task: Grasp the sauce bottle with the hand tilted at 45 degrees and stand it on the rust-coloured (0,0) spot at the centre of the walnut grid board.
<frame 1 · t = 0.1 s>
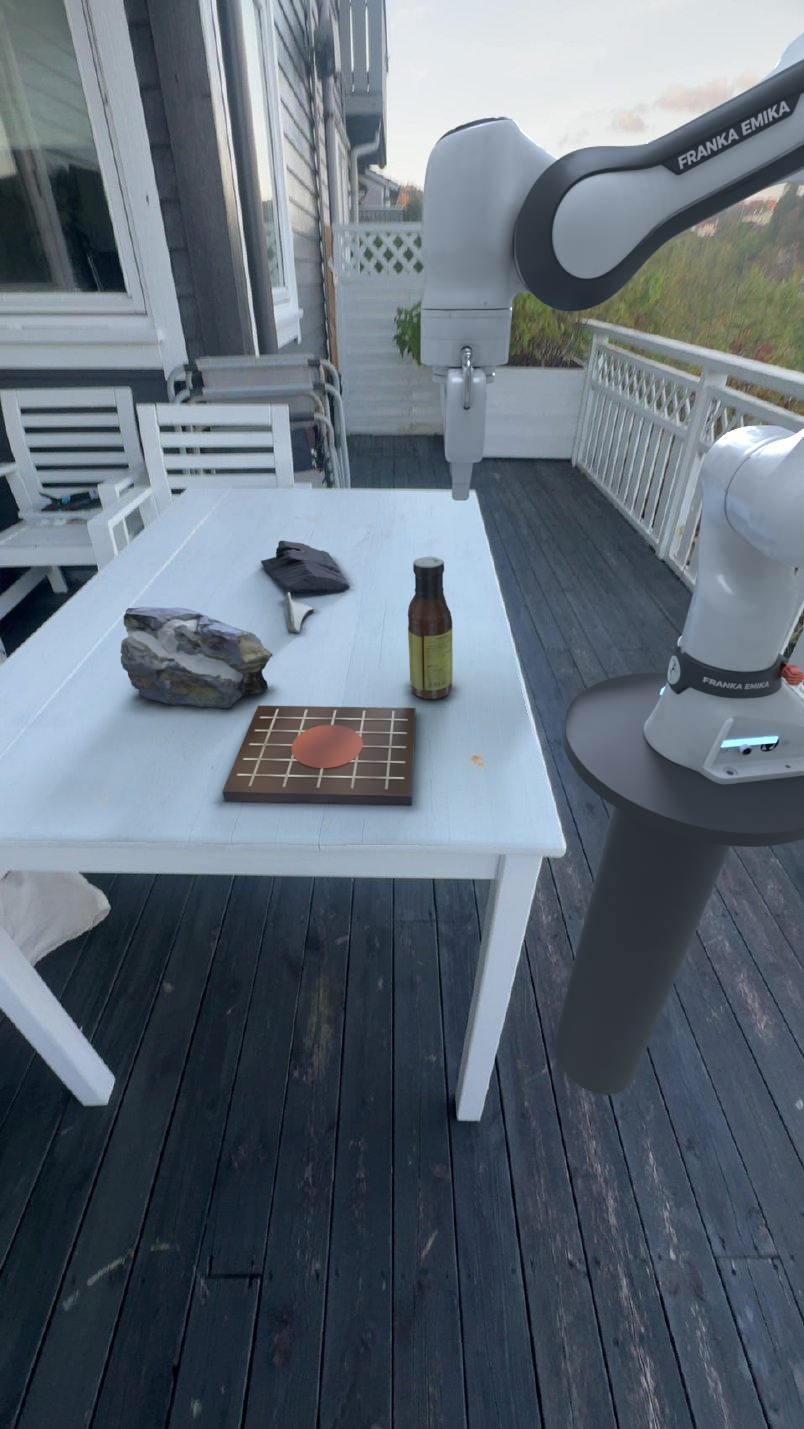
hand: (458, 486, 70), 31 cm above the table, tool pointing down, fingers open, 8 cm apart
fossil rock: (205, 698, 92), on the table
sauce bottle: (429, 691, 93), on the table
dark slate chunk: (305, 577, 129), on the table
grid board: (328, 755, 80), on the table
ceramic fragment: (292, 618, 114), on the table
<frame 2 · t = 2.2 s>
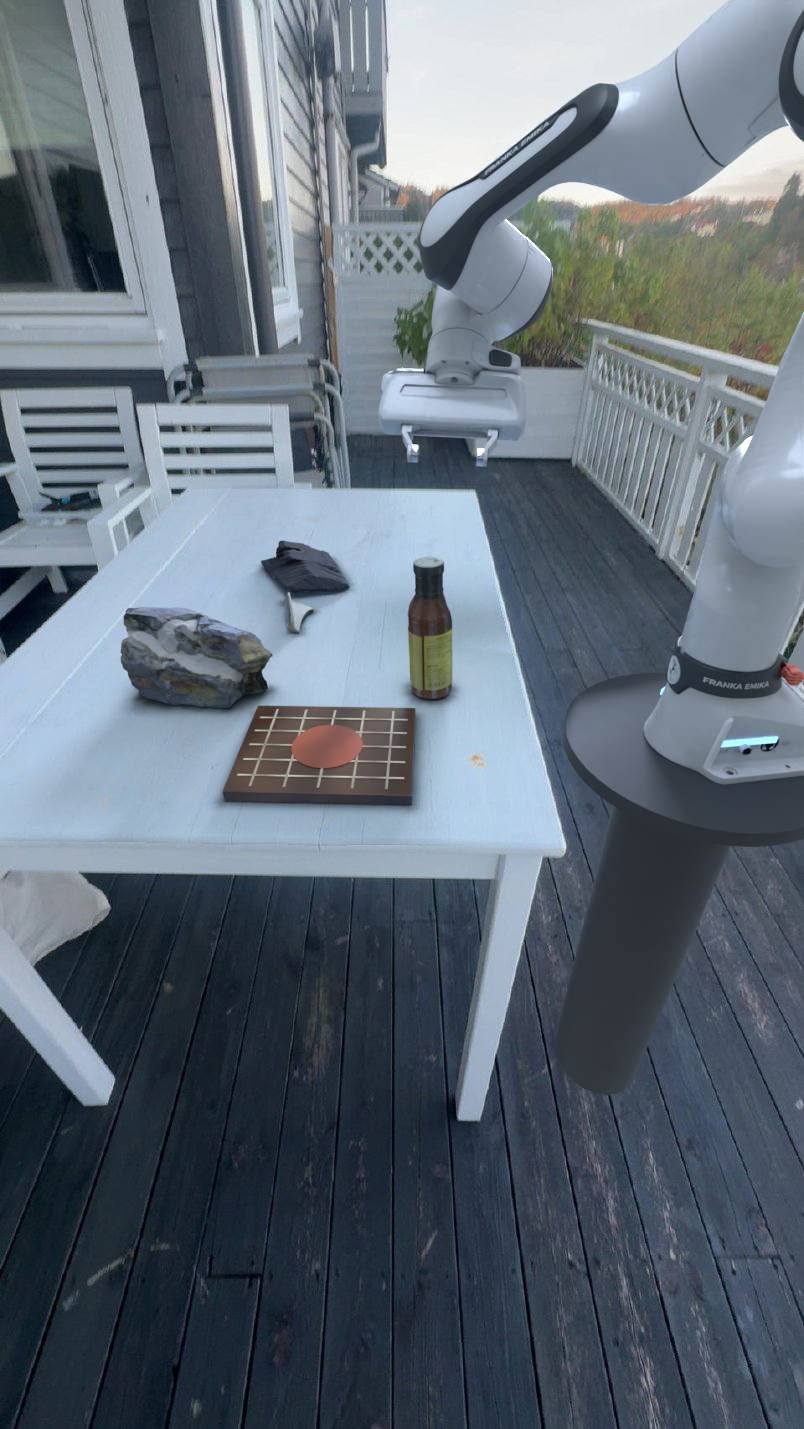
hand: (446, 462, 85), 30 cm above the table, tool tilted 45°, fingers open, 8 cm apart
nothing on the table moved.
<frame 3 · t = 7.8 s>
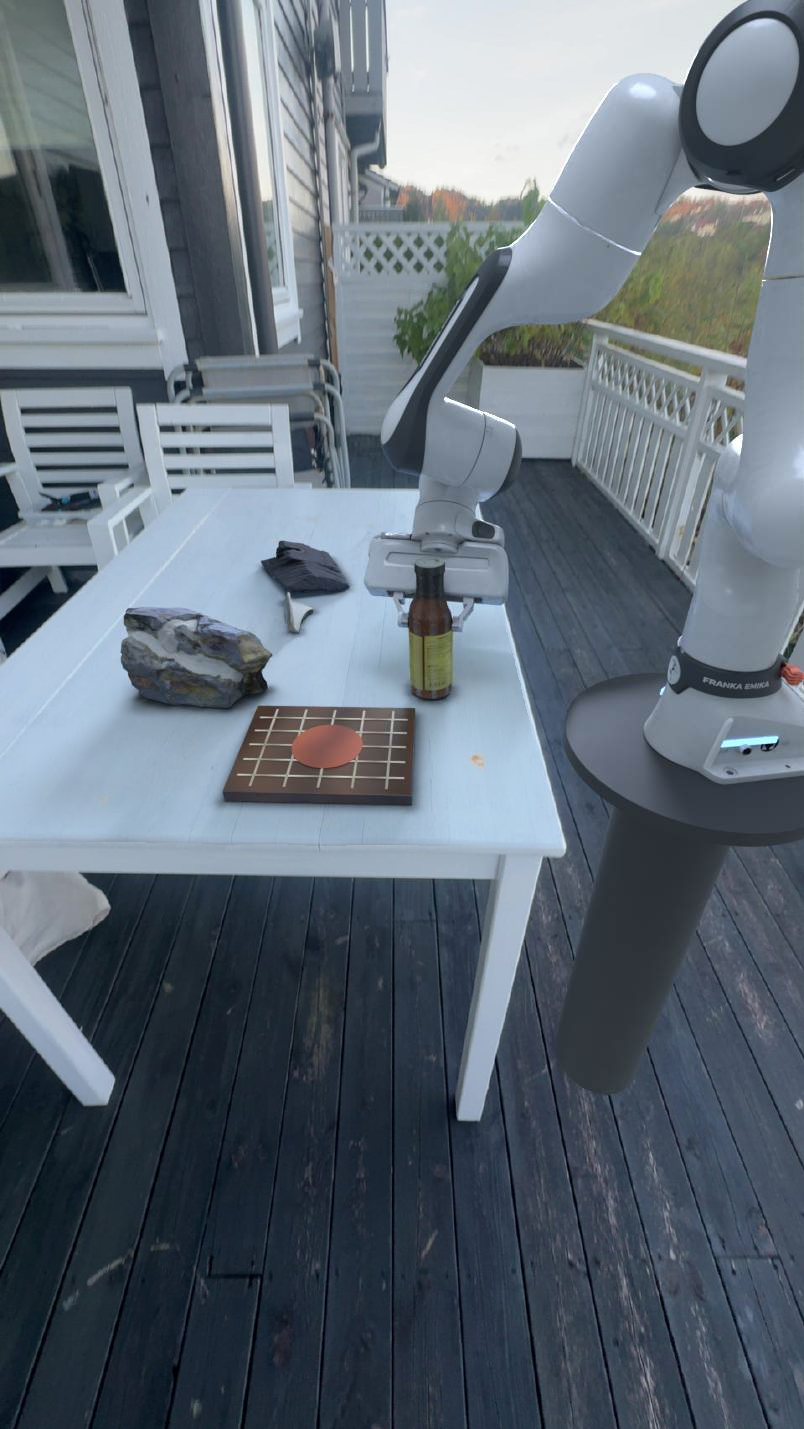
hand: (430, 628, 86), 10 cm above the table, tool tilted 45°, fingers closed on sauce bottle, 6 cm apart
sauce bottle: (429, 691, 93), on the table, touching gripper
everything else where it was.
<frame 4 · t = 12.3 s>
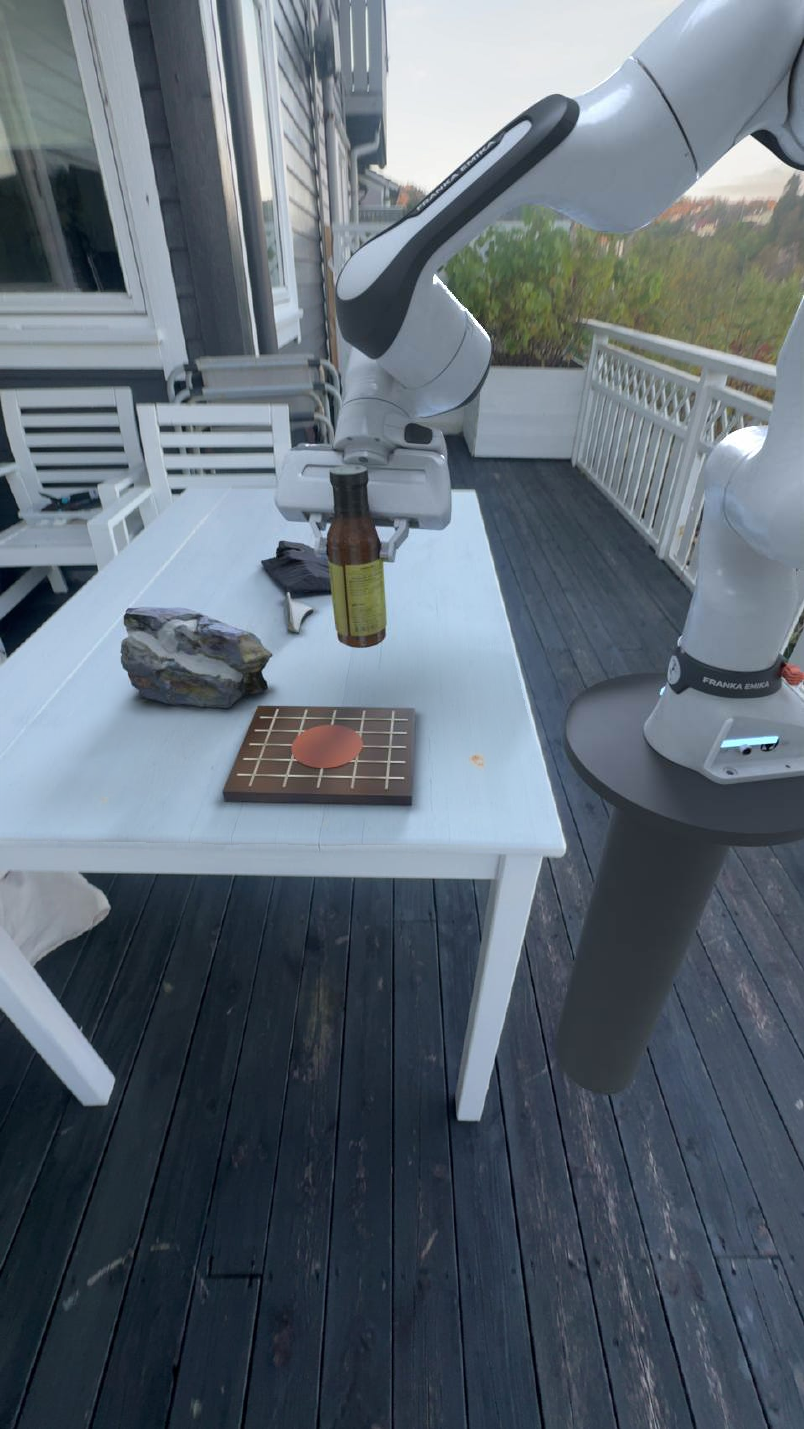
hand: (354, 558, 70), 24 cm above the table, tool tilted 45°, fingers closed on sauce bottle, 6 cm apart
sauce bottle: (360, 639, 77), point 14 cm above the table, touching gripper
everything else where it was.
when the fingers open (12 cm above the table, at t = 17.1 s): sauce bottle stays where it is, resting on grid board.
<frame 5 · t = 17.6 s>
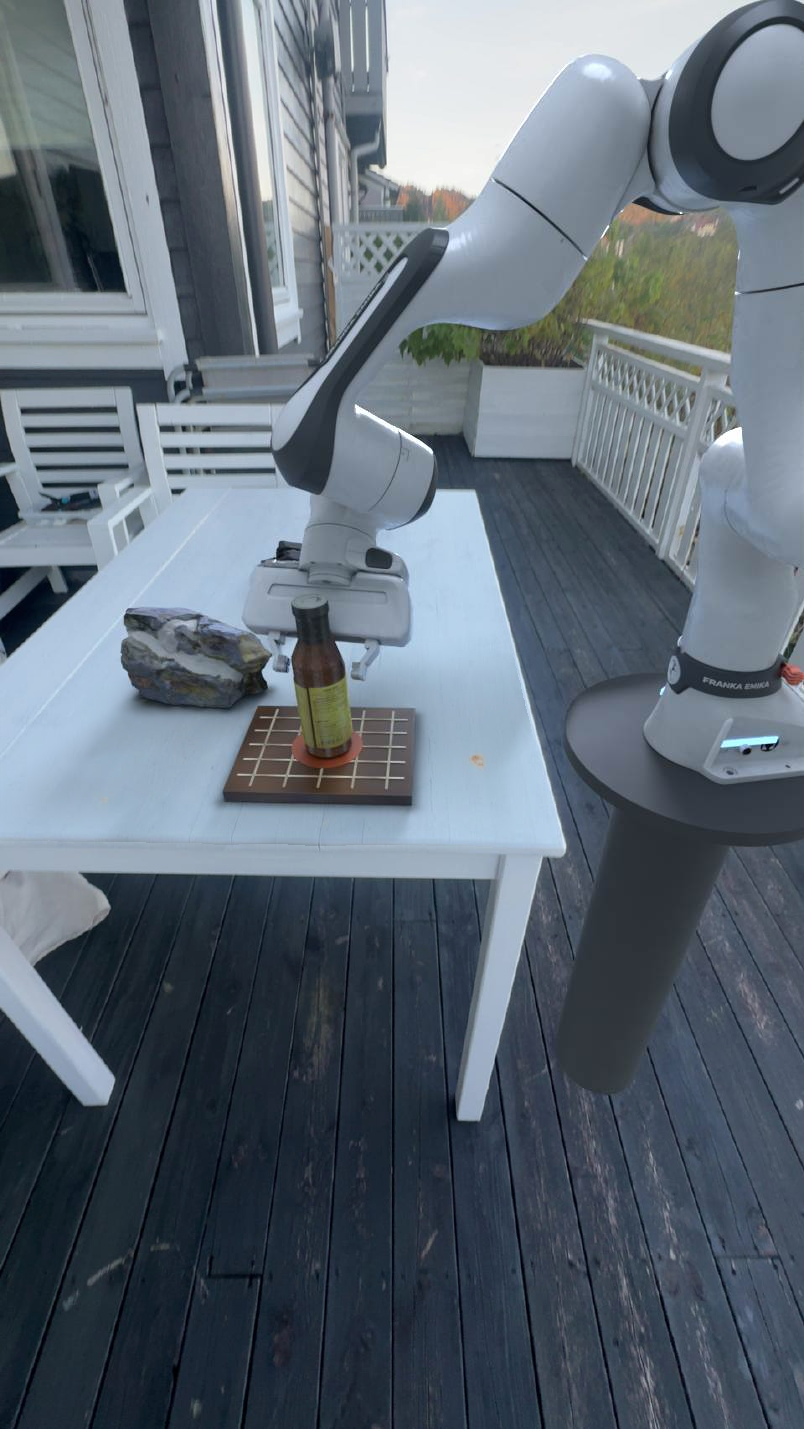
hand: (318, 675, 73), 12 cm above the table, tool tilted 45°, fingers open, 8 cm apart
sauce bottle: (327, 746, 79), point 1 cm above the table, touching grid board
everything else where it was.
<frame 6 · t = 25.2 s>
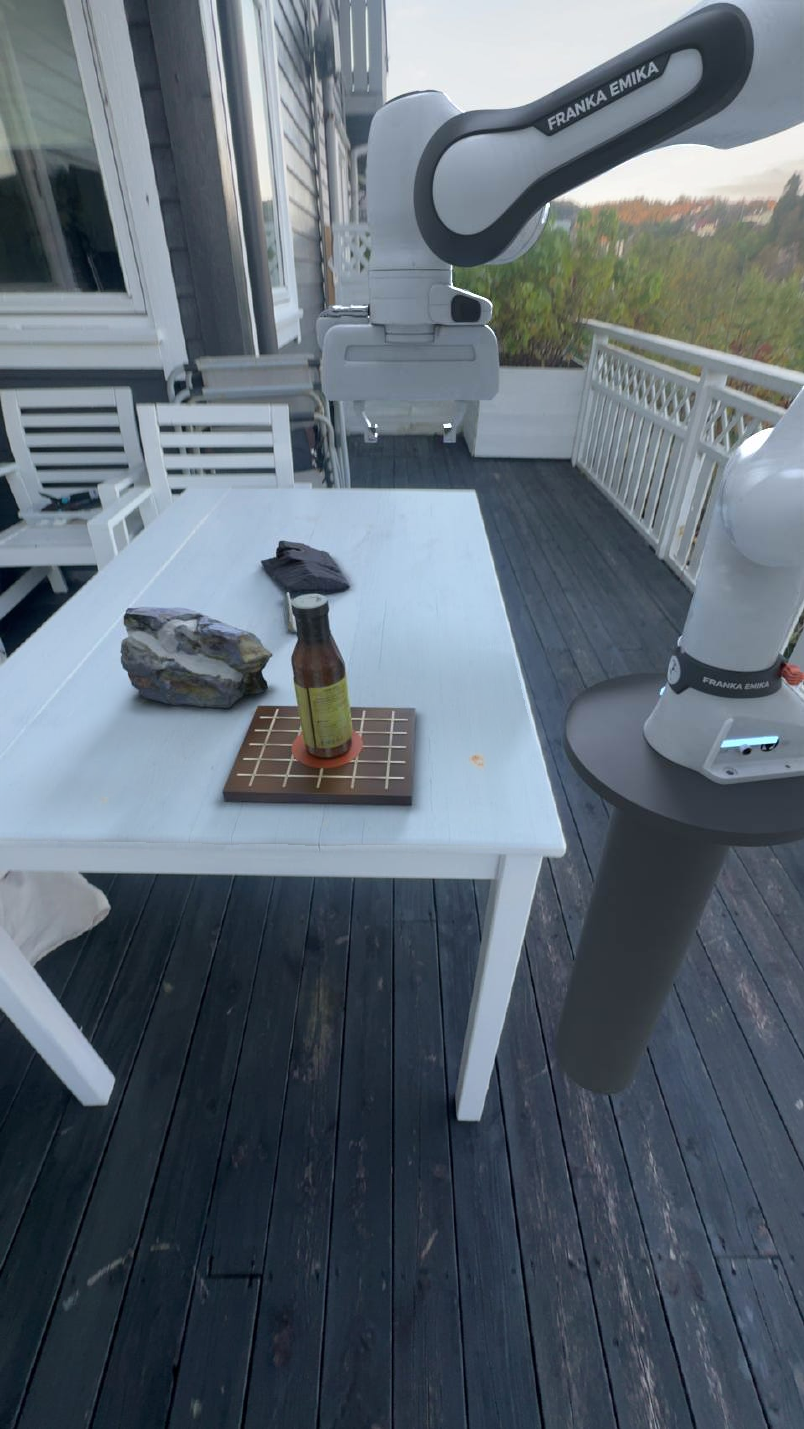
hand: (410, 441, 75), 34 cm above the table, tool pointing down, fingers open, 8 cm apart
nothing on the table moved.
at the end: sauce bottle 0.0 cm from the target spot, point 1.4 cm above the table; sauce bottle tilted 0°; the gripper is holding nothing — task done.
